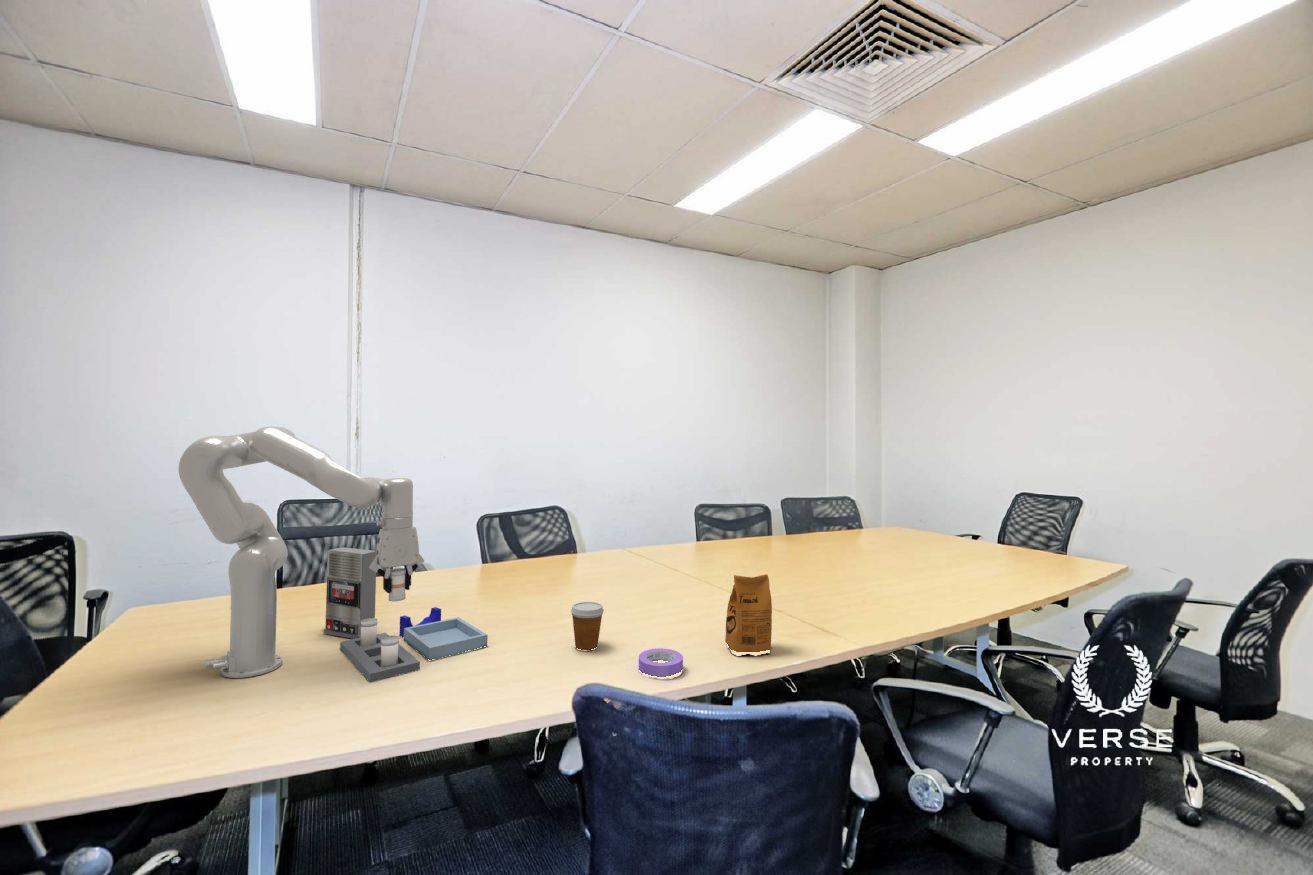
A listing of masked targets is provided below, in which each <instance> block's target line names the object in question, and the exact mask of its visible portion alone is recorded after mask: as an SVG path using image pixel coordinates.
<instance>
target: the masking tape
mask: <svg viewBox="0 0 1313 875" xmlns="http://www.w3.org/2000/svg"><path fill="white" fill-rule="evenodd" d="M658 660H663V661H668V662H665V663H658V662H653V661H658ZM682 669H683V670H684V657H683V654H682V653H680V652H679V651H677V650H674V649H669V648H662V647H659V648H651V649H650V648H649V649H645V650H644V651H642V652H640V654H638V671H639V670H640V671H641V672H642V673H645V674H648V675H651V676H657V677H666V676H671V675H674V674H676V673H679V672H681V670H682Z"/></svg>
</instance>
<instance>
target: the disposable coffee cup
mask: <svg viewBox="0 0 1313 875" xmlns="http://www.w3.org/2000/svg"><path fill="white" fill-rule="evenodd" d="M604 612H605V609H604V607H603V604H601V603H599V602H595V601H582V602H576V603H574V604H573V605H572V607H571V609H570V613H571V616H572V625H573V636H574V644H575V646H576V648H578V649H581V650H591V649H594V648H596V647H597V648H598V646H599V645H598V644H599V638H600V633H601V632H600V631H601V624H602V618H603V617H602V616H603V614H604ZM576 648H575V649H576Z"/></svg>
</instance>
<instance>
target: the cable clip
mask: <svg viewBox="0 0 1313 875" xmlns="http://www.w3.org/2000/svg"><path fill="white" fill-rule="evenodd" d="M438 621H442V608H440V607H435V606H434V607H431V609H430V613H429V616H427V617H424V618H423V619H422V620H421V622H419V623H417V624H413V622H412V618H411V617H410V616H408V615H400V616H399V636H398V637H401V636H402V637H401V638H403V637H404V628H408V627H413V626H418V625H423V624H428V623H433V622H438Z"/></svg>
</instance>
